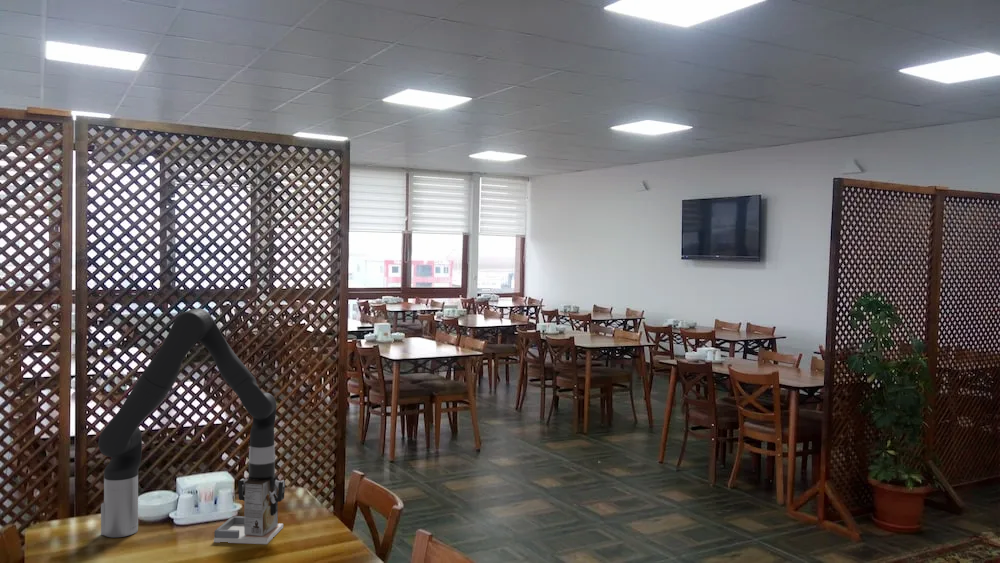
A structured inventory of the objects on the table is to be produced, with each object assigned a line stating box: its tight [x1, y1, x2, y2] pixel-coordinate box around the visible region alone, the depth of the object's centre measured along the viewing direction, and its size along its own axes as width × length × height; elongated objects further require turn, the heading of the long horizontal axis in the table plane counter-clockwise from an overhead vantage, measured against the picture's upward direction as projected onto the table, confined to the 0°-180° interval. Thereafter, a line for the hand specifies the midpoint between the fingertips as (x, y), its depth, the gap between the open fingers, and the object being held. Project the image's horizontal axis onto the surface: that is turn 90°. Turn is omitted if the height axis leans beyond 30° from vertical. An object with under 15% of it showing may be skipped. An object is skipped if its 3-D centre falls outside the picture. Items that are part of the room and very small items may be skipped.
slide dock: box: [213, 515, 284, 545], centre depth 229 cm, size 16×14×3 cm
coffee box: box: [243, 474, 279, 536], centre depth 228 cm, size 9×6×16 cm
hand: (261, 514), depth 228 cm, fingers closed on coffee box, 7 cm apart
